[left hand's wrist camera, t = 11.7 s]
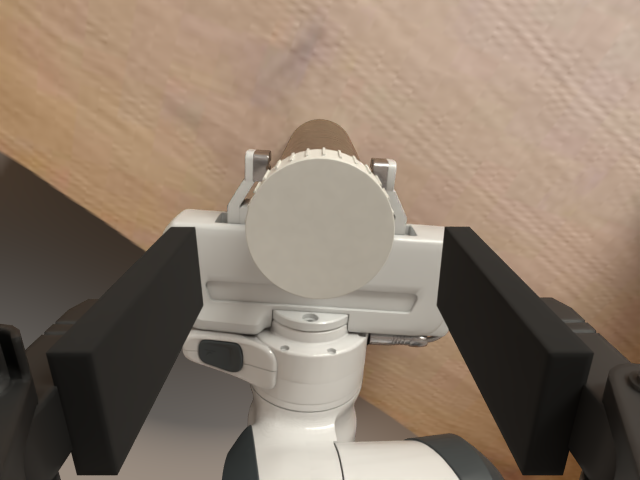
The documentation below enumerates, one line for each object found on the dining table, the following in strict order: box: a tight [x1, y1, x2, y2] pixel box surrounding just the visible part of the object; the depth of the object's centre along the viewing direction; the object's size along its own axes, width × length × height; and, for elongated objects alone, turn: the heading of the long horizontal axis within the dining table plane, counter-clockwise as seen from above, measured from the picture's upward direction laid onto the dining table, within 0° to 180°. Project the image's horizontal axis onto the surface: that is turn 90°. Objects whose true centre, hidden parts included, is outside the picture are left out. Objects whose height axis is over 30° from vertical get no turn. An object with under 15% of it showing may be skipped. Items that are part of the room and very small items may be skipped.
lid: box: [245, 147, 395, 299], centre depth 18 cm, size 6×6×2 cm
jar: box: [280, 119, 361, 162], centre depth 26 cm, size 5×5×18 cm
